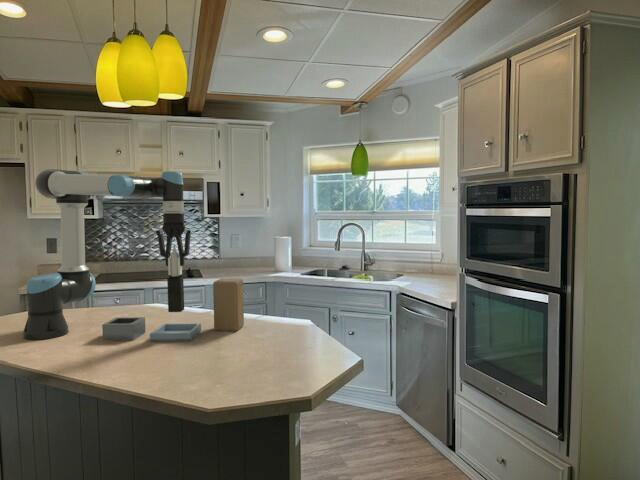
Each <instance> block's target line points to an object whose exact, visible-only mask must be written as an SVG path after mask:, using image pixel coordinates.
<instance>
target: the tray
mask: <svg viewBox="0 0 640 480" xmlns="http://www.w3.org/2000/svg"><path fill="white" fill-rule="evenodd" d="M201 332H202V323H201V322H199V323H197V322H196V323H192V322H191V323H190V322H189V323H187V322H186V323H184V322H183V323H163V324H161V325H159V326H158V327H157V328H156V329H154V330H153V331H151V332H150V333H149V342H151V343H153V342H156V343H157V342H192V340H194V339H195V338H196V337H197V336H198V335H199V334H200V333H201Z"/></svg>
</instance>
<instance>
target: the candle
mask: <svg viewBox="0 0 640 480" xmlns="http://www.w3.org/2000/svg"><path fill="white" fill-rule="evenodd" d="M172 247H173V249H172V251H171V254H170V257H171V275H168V277H167V278H166V279H167V281H166V283H167V310H168V311H167V312H169V313H181V312H182V311H184V310H185V294H184V293H185V292H184V291H185V289H184V276H182V274H181V275H178V259H177V258H179V252H178V250H177V247H176V245H173V246H172Z"/></svg>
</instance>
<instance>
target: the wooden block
mask: <svg viewBox="0 0 640 480" xmlns="http://www.w3.org/2000/svg"><path fill="white" fill-rule="evenodd" d="M212 284H213V285H212V288H213V329H214V331H216V332H218V331H219V332H220V331H221V332H237V331H239V330H240V329H241V328H242V327H243V326H244V324H245V314H244V313H245V311H244V309H245V308H244V307H245V306H244V302H245V301H244V280H243V278H240V277H239V278H238V277H237V278H234V277H233V278H228V277H226V278H225V277H223V278H219V279H218V280H215V281H214V282H213V283H212Z"/></svg>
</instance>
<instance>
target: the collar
mask: <svg viewBox="0 0 640 480" xmlns="http://www.w3.org/2000/svg"><path fill="white" fill-rule="evenodd" d="M101 326H102V327H101V328H102V341H108V342H109V340H112V341H135V340H137V339H138V338H140V337H141V336H143V335H144V334H145V333H146V317H138V316H137V317H136V316H135V317H131V316H130V317H129V316H128V317H127V316H125V317H115V318H112V319H111V320H108V321H106V322H104V323H103V324H102V325H101Z"/></svg>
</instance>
